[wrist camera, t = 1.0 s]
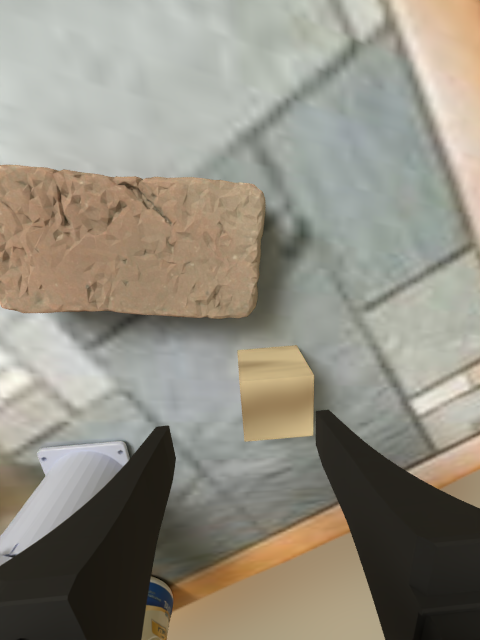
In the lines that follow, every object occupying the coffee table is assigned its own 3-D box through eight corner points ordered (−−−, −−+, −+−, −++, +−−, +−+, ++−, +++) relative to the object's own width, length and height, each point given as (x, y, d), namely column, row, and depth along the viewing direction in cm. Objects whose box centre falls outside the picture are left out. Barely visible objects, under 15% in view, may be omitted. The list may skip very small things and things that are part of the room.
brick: (262, 191, 19) (271, 179, 15) (254, 305, 22) (260, 324, 17) (21, 177, 18) (-47, 159, 14) (43, 296, 21) (-9, 314, 16)
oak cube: (296, 395, 24) (312, 435, 20) (241, 400, 24) (244, 441, 19) (296, 345, 23) (313, 375, 18) (237, 349, 23) (239, 381, 18)
